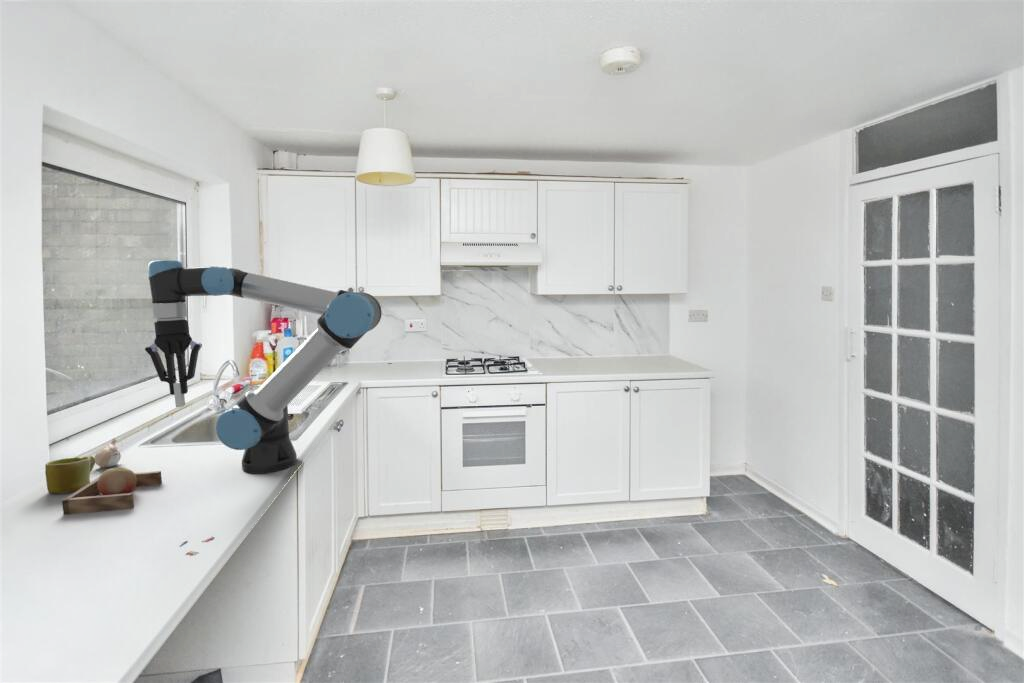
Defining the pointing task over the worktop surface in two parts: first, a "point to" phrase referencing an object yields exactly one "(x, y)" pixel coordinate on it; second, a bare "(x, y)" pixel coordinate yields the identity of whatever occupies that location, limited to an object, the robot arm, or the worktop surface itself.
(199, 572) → the worktop surface
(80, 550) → the worktop surface
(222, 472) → the worktop surface
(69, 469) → the mug
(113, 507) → the wooden frame
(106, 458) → the garlic bulb
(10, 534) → the worktop surface
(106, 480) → the fruit
